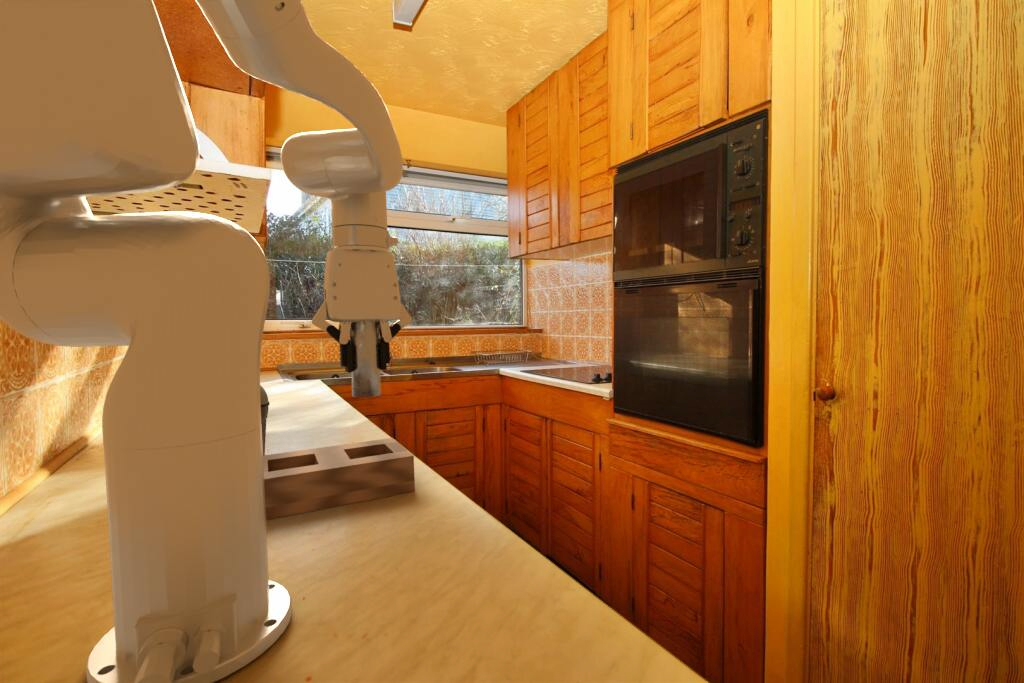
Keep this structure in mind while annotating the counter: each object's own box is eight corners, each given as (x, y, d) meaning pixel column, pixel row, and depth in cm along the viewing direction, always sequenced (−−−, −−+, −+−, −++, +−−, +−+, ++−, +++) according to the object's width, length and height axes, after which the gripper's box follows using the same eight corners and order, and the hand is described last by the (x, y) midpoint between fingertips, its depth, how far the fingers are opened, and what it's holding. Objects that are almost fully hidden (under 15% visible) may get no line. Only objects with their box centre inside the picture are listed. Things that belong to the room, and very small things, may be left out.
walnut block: (393, 468, 76) (392, 437, 76) (414, 490, 65) (413, 455, 65) (253, 491, 67) (251, 457, 66) (251, 522, 56) (249, 481, 56)
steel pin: (383, 395, 67) (380, 311, 67) (354, 398, 65) (351, 312, 65) (377, 392, 71) (374, 312, 70) (350, 394, 69) (346, 313, 68)
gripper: (410, 249, 74) (414, 364, 75) (295, 244, 66) (300, 372, 67) (425, 242, 68) (429, 368, 68) (298, 235, 60) (305, 377, 61)
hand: (365, 369), depth 68 cm, fingers closed on steel pin, 4 cm apart
